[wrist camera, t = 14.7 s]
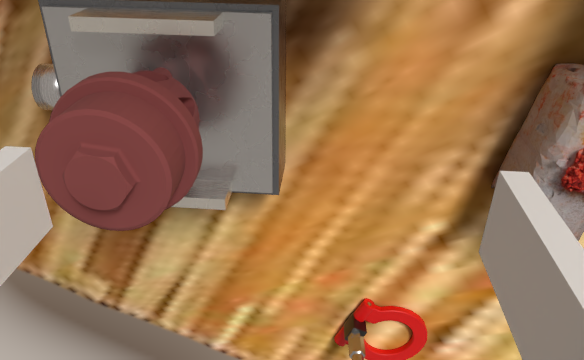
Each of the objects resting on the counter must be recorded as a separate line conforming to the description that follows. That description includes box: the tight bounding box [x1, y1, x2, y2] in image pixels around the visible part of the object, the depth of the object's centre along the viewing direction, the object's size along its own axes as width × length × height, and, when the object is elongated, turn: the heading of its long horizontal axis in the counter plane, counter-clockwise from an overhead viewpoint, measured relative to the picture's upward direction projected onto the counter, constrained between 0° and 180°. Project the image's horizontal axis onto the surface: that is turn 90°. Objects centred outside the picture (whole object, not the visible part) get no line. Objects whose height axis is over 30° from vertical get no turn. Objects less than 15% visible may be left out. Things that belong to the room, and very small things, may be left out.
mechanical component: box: [35, 67, 203, 231], centre depth 34 cm, size 12×10×10 cm
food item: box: [491, 63, 584, 241], centre depth 40 cm, size 14×8×10 cm, turn 167°
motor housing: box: [32, 0, 286, 210], centre depth 41 cm, size 16×21×10 cm
